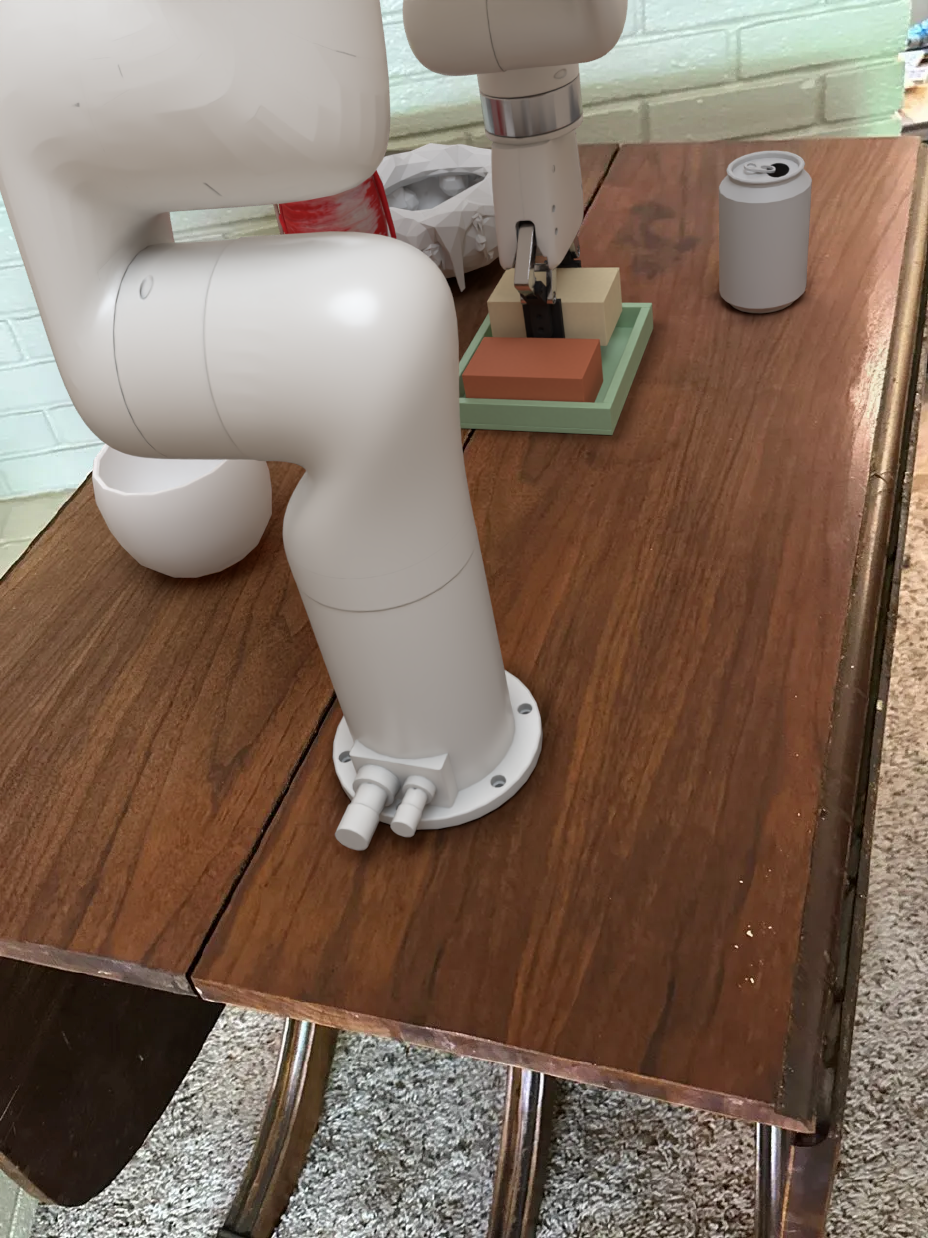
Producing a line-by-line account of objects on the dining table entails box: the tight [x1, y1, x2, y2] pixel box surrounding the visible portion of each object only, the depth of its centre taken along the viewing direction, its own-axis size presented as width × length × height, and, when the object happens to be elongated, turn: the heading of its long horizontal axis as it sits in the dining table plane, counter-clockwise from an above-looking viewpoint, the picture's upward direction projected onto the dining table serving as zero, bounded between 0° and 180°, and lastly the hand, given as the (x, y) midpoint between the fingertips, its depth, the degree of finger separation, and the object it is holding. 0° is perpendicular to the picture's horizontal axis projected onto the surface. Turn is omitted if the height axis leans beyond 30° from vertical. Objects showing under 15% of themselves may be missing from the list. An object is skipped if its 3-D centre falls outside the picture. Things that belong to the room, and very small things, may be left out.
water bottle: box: [272, 170, 397, 239], centre depth 86 cm, size 12×8×25 cm, turn 77°
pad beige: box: [486, 267, 623, 346], centre depth 92 cm, size 6×10×4 cm, turn 72°
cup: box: [91, 443, 273, 579], centre depth 80 cm, size 12×12×10 cm
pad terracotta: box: [462, 337, 603, 403], centre depth 89 cm, size 6×10×4 cm, turn 71°
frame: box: [459, 302, 654, 436], centre depth 93 cm, size 17×15×2 cm
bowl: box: [376, 142, 499, 293], centre depth 109 cm, size 21×20×10 cm
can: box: [718, 150, 813, 314], centre depth 93 cm, size 8×8×12 cm
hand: (556, 321), depth 93 cm, fingers closed on pad beige, 6 cm apart
